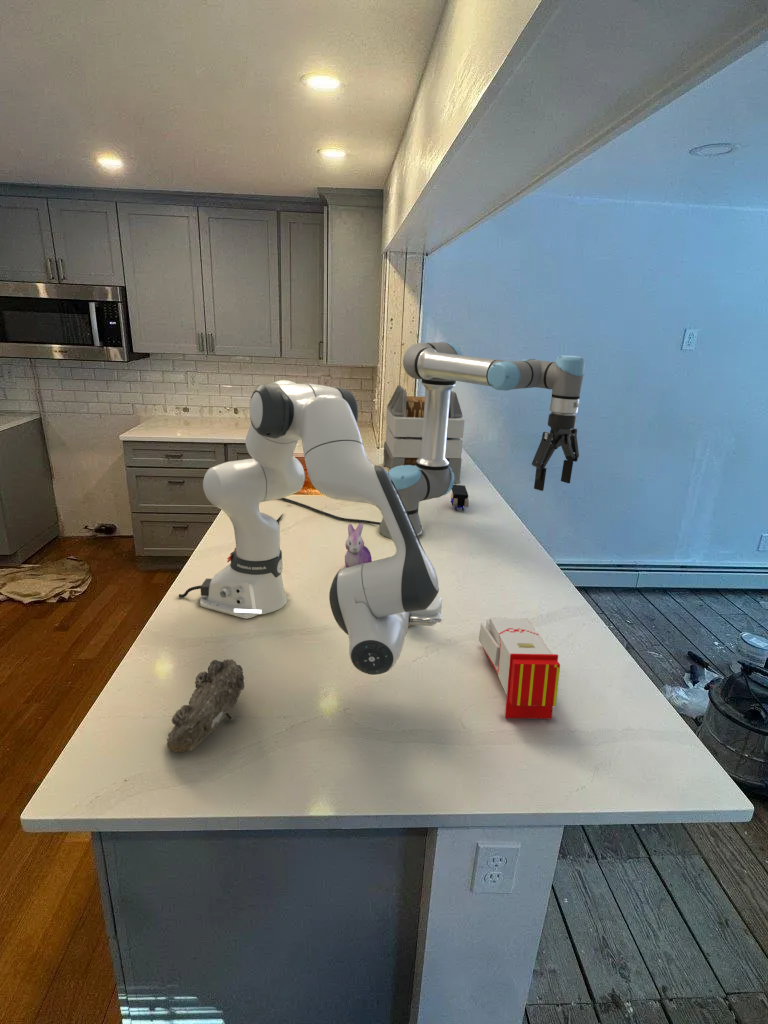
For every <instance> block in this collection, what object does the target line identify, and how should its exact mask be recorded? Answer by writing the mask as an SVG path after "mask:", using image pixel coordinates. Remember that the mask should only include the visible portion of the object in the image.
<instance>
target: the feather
mask: <svg viewBox="0 0 768 1024" xmlns="http://www.w3.org/2000/svg"><path fill="white" fill-rule="evenodd" d="M283 515H284V513H282V514H281V515H280V516H279V517H278V518H277V519H276V521H277V522H278V523H279V522H280V520H281V519H282V517H283Z"/></svg>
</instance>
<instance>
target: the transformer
mask: <svg viewBox="0 0 768 1024" xmlns="http://www.w3.org/2000/svg"><path fill="white" fill-rule="evenodd" d="M407 394H408V393H407V390H406V389H404V388H403V387H402V385H399V384H398V385H397V386H396V388H395V390H394V392H393V394H392V395H391V398H390V400H389V402H388V404H387V405H386V413H385V414H386V415H385V423H386V428H385V438H384V442H383V466H384V467H388V468H389V470H390V469H392V468H394V467H396V466H401V465H404V466H405V465H413V466H416V461H417V459H418V458H420V457H421V449H422V434H423V419H424V404H425V396H415V395H414V396H413V395H412V396H411V395H407ZM464 429H465V419H464V418H463V411H462V408H461V405H460V402H459V398H458V395H457V392H455V391H453V390H451V392H450V404H449V416H448V428H447V441H446V453H445V458H446V459H447V461H448V462H449V466H450V467H451V469H452V473H454V484H455V483H456V484H459V483H461V472H462V461H463V460H462V453H463V442H464V441H463V440H462V439H463V438H464V431H465V430H464Z"/></svg>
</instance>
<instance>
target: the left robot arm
mask: <svg viewBox="0 0 768 1024" xmlns="http://www.w3.org/2000/svg"><path fill="white" fill-rule="evenodd" d="M358 405H359V404H358V401H357V399H356V397H355V395H354V394H353V393H352V392H351V391H350V390H349V389H348V390H347V389H345V388H343V387H340V386H335V385H334V386H328V385H323V384H317V383H306V382H305V383H296V382H294V381H292V380H287V379H281V380H276V381H274V382H271V383H265V384H261V385H258V386H257V387H256V388H255V389H254V391H253V392H252V394H251V396H250V400H249V409H248V410H249V412H248V414H249V419H250V424H249V427H248V430H247V433H246V437H245V448H246V451H247V454H249V456H250V457H251V458H246V459H238V460H231V461H225V462H223V463H222V462H221V463H220V464H217V465H215V466H214V465H213V466H212V467H209V468H208V469H207V471H206V472H205V474H204V475H203V476H204V477H203V481H202V490H203V493H204V495H205V498H206V499H207V501H209V503H211V505H213V506H214V507H216V508H218V509H220V510H221V511H222V512H223V513H224V514H226V516H227V517H228V518H229V520H230V522H231V524H232V527H233V532H234V540H235V548H234V549H233V551H232V552H231V553H230V554H229V556H228V557H227V558H226V559H227V561H226V562H227V563H229V562H230V563H229V564H228V565H226V566H225V567H223V568H222V569H220V570H219V571H218V572H217V573H215V574H214V575H213V577H212V578H205V580H204V581H203V582H202V584H200V585H195V586H192V587H190V588H187V589H186V590H185V591H184V593H179V594H178V598H180V599H181V598H182V599H183V598H185V597H187V595H188V594H189V593H191V592H192V591H196V590H200V600H199V606H200V607H201V608H205V609H208V610H212V611H216V612H220V613H223V614H227V615H230V616H235V617H238V618H242V619H251V618H254V617H257V616H259V615H265V614H270V613H274V612H276V611H279V610H281V609H282V608H284V607H285V605H286V604H288V603H287V602H288V596H287V594H286V590H285V587H284V586H285V585H284V581H283V574H282V573H283V551H282V550H281V529H280V528H281V527H280V525H279V522H277V519H276V518H275V517H273V516H272V515H269V514H267V513H264V512H261V511H260V504H261V503H264V502H269V501H270V502H271V501H276V500H280V499H281V498H288V497H289V496H292V495H294V494H296V493H298V492H301V490H302V488H303V487H304V485H305V480H306V479H305V478H306V474H305V473H306V472H307V475H308V478H309V480H310V483H311V485H312V486H313V488H315V490H316V491H318V492H319V493H320V494H322V495H324V496H325V497H327V498H330V499H334V500H337V501H342V502H351V503H361V504H368V505H371V506H374V507H376V508H377V509H378V510H379V511H380V513H381V516H382V519H383V518H384V520H385V523H386V525H387V528H388V530H389V532H390V535H391V537H392V539H391V540H392V542H393V544H394V546H395V549H396V551H395V553H394V554H393V555H391V556H388V557H384V558H380V559H376V560H372V562H369V563H363V564H359V565H355V566H351V567H348V568H345V567H344V568H345V569H344V568H341V569H339V570H338V571H337V572H336V574H335V575H334V577H333V579H332V582H331V586H330V588H329V593H328V594H329V595H328V597H329V598H328V599H329V606H330V609H331V613H332V616H333V618H334V620H335V622H336V624H337V625H338V627H339V628H340V629H341V630H342V631H343V632H344V634H346V635H348V642H349V643H348V654H349V659H350V662H351V664H352V666H353V667H355V668H356V669H357V670H358V671H359V672H361V673H363V674H367V675H372V676H374V675H375V676H376V675H382V674H385V673H387V672H389V671H390V670H392V669H393V668H394V666H395V665H396V664H397V663H398V660H399V658H400V657H401V654H402V651H403V648H404V644H405V640H406V639H405V638H406V636H407V632H408V628H409V626H408V625H409V624H411V625H412V626H422V627H423V626H424V627H431V626H435V625H436V624H437V623H441V622H442V620H443V614H442V608H443V607H442V606H443V599H442V598H441V597H440V596H439V595H438V594H439V591H440V587H439V585H440V584H439V578H438V574H437V572H436V569H435V567H434V565H433V563H432V562H431V560H430V558H429V557H428V555H427V554H426V551H425V549H424V547H423V545H422V543H421V540H420V537H418V536H417V534H416V531H415V529H414V527H413V525H412V522H411V520H410V518H409V515H408V513H407V511H406V508H405V506H404V504H403V502H402V500H401V497H400V495H399V493H398V491H397V489H396V487H395V485H394V483H393V481H392V479H391V477H390V476H389V474H388V471H387V470H386V469H385V468H384V467H383V466H379V465H376V464H374V463H373V462H372V461H371V460H370V458H369V457H368V455H367V453H366V450H365V447H364V442H363V438H362V435H361V431H360V429H359V428H360V427H359V425H358V420H359V406H358ZM299 440H300V441H301V445H302V451H303V456H304V457H303V458H304V463H305V467H306V468H305V469H306V472H305V469H304V467H303V464H302V463H301V461H300V460H299V459H298V458H297V457H296V456H294V453H295V450H296V447H297V445H298V442H299Z"/></svg>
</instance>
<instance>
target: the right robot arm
mask: <svg viewBox="0 0 768 1024" xmlns="http://www.w3.org/2000/svg"><path fill="white" fill-rule="evenodd" d="M585 365H586V360H585V358H584V357H582V356H578V355H566V354H565V355H564V354H563V355H558V356H557V357H556V360H555V361H549V360H541V359H536V358H524V359H521V360H506V359H505V360H504V359H503V360H502V359H496V358H487V357H479V356H471V355H464V354H463V352H462V350H461V349H460V347H459V346H457V345H456V344H455V343H451V342H445V341H443V342H442V341H441V342H440V341H439V342H438V341H437V342H417V343H414V344H412V345H411V346H409V347H408V348H407V350H406V351H405V353H404V355H403V358H402V366H403V369H404V372H405V373H406V374H407V375H408V376H409V377H411V378H412V379H415V380H421V385H422V386H423V387H424V389H425V392H424V397H425V404H424V419H423V434H422V449H421V457H420V458H418V459H417V461H416V466H413V465H401V466H396V467H394V468H392V469H390V468H389V470H388V471H387V473H388V474H389V476H390V477H391V479H392V481H393V483H394V485H395V487H396V489H397V491H398V493H399V495H400V497H401V500H402V502H403V504H404V506H405V508H406V511H407V513H408V515H409V518H410V520H411V522H412V525H413V527H414V529H415V531H416V534H417V536H418V538H420V537H421V536H422V535H423V525H422V524H421V518H420V515H419V507H420V506H419V505H420V502H423V501H427V500H431V499H437V498H440V497H443V496H446V495H448V493H450V492H451V491H452V487H453V485H455V483H454V473H452V469H451V467H450V466H449V462H448V461H447V459H446V458H445V453H446V441H447V428H448V416H449V404H450V392H451V391H452V389H453V388H454V387H455V386H456V384H457V382H461V383H465V384H473V385H479V386H487V387H491V388H492V389H494V390H496V391H503V392H504V391H511V390H520V389H532V388H533V389H534V388H539V389H546V390H551V398H550V404H549V413H548V418H547V419H548V420H547V426H548V427H549V428H550V431H549V432H548V431H543V432H542V435H541V440H540V442H539V445H538V447H537V449H536V452H535V454H534V457H533V460H532V461H531V466H533V467H535V475H534V477H535V478H534V485H533V489H534V490H537V491H539V492H543V491H544V489H545V484H546V483H545V482H546V476H547V468H546V466H547V465H548V463H549V461H550V459H551V457H552V456H553V454H554V453H555V451H556V450H557V449H558V448H560V447H561V449H562V452H563V455H564V458H565V459H563V463H562V468H561V469H562V470H561V475H560V482H562V483H566V484H571V478H572V472H573V466H574V463H576V462H578V461H579V457H580V453H579V444H578V428H576V423H577V419H578V416H577V414H578V412H579V411H578V410H579V406H580V397H581V391H582V385H583V380H584V376H585ZM279 500H281V501H284V502H288V503H291V504H295V505H297V506H300V507H303V508H306V509H308V510H311V511H313V512H316V513H318V514H321V515H324V516H326V517H330V518H333V519H335V520H338V521H344V522H353V523H363V524H369V525H377V526H379V527H378V533H379V534H380V535H381V536H382V537H385V538H387V539H389V540H393V539H392V537H391V535H390V532H389V530H388V528H387V525H386V523H385V520H384V518H383V517H382V519H381V522H380V521H374V520H367V519H366V520H365V519H356V518H347V517H341V516H338V515H334V514H331V513H329V512H325V511H323V510H321V509H319V508H315V507H312V506H310V505H308V504H304V503H301V502H299V501H296V500H292V499H290V498H287V497H285V498H281V499H279Z"/></svg>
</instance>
